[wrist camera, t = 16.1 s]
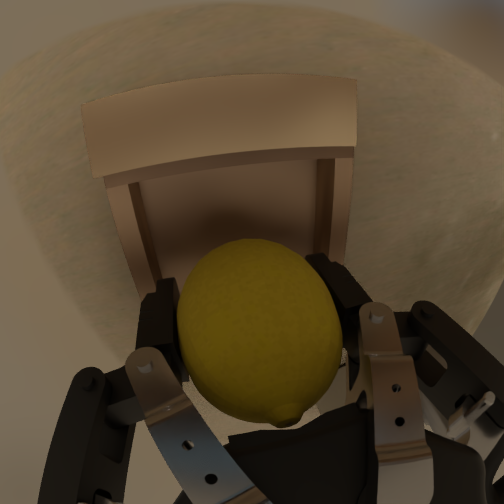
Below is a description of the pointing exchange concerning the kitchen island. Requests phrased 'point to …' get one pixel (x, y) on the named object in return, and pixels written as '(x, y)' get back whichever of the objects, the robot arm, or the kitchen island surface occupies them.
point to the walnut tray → (230, 207)
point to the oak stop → (218, 118)
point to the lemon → (258, 332)
